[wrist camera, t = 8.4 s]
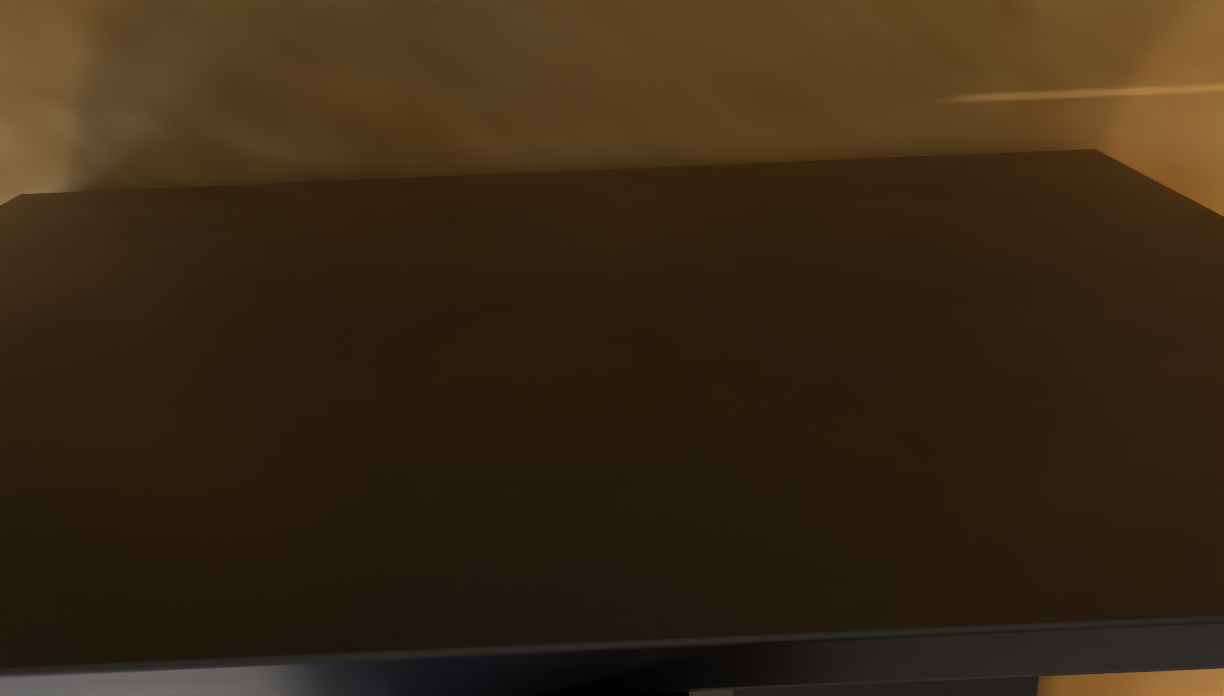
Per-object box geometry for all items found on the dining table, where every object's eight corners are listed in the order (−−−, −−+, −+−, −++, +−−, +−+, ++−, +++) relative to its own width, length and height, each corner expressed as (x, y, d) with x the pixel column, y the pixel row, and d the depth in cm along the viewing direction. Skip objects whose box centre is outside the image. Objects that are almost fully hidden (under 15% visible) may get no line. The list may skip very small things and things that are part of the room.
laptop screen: (1906, 649, 12) (1938, 586, 12) (-887, 772, 12) (-930, 711, 12) (1093, 176, 31) (1096, 148, 31) (26, 221, 31) (19, 193, 31)
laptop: (1010, 747, 40) (1030, 784, 38) (175, 784, 40) (156, 823, 38) (1067, 165, 33) (1094, 177, 31) (55, 207, 33) (25, 222, 31)
